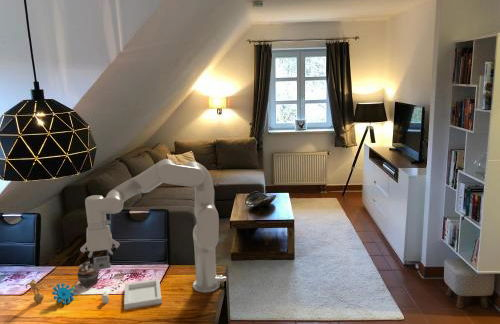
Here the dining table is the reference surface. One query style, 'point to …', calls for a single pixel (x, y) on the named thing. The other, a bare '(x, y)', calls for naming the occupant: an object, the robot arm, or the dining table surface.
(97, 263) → the grey square frame
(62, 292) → the blue virus model
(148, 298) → the tray
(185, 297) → the dining table surface
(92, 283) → the cupcake
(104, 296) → the white rounded knob
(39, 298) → the figurine
